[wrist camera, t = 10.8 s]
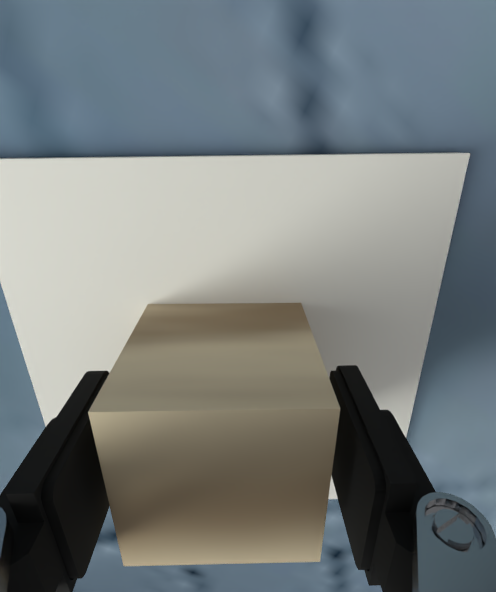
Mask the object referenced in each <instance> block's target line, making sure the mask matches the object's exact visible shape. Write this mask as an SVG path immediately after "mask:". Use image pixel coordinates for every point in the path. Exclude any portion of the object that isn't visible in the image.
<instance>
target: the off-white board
mask: <svg viewBox="0 0 496 592" xmlns="http://www.w3.org/2000/svg"><path fill="white" fill-rule="evenodd" d="M469 157H470V153H459V152H455V153H375V154H294V155H214V156H134V157H53V158H0V282H1V286H2V289H3V292H4V295H5V298H6V301H7V305H8V308H9V311H10V314H11V317H12V321H13V324H14V327H15V330H16V333H17V336H18V340H19V343H20V346H21V349H22V352H23V356H24V359H25V362H26V365H27V368H28V371H29V375H30V378H31V381H32V384H33V387H34V391H35V394H36V397H37V400H38V403H39V406H40V410H41V413H42V416H43V419H44V422H45V426H47V425H48V423H49V422H50V421H51V420H52V419H53V418H55V417H57V415H58V414H59V412H60V411H61V409H62V408H63V406H64V405H65V403H66V402H67V400H68V399H69V397H70V396H71V394H72V393H73V391H74V390H75V388H76V387H77V385H78V383H79V382H80V380H81V379H82V377H83V376H84V374H85V373H86V372H87V371H108V372H109V373H110V371H111V370H112V368H113V366H114V364H115V362H116V361H117V359H118V357H119V355H120V353H121V352H122V350H123V348H124V346H125V344H126V343H127V341H128V339H129V337H130V335H131V334H132V332H133V330H134V328H135V326H136V324H137V323H138V321H139V319H140V317H141V315H142V314H143V312H144V310H145V308H146V306H147V305H148V304H216V303H301V304H302V307H303V309H304V312H305V315H306V317H307V320H308V323H309V326H310V328H311V331H312V334H313V336H314V339H315V342H316V344H317V347H318V350H319V352H320V355H321V358H322V360H323V363H324V366H325V369H326V371H327V374H328V377H330V372H331V371H336V368H337V366H344V365H356V366H358V368H359V370H360V372H361V374H362V376H363V378H364V379H365V381H366V383H367V385H368V387H369V389H370V391H371V393H372V395H373V397H374V399H375V401H376V403H377V405H378V407H379V409H380V410H389V411H391V413H392V414H393V416H394V417H395V419H396V421H397V423H398V425H399V426H400V428H401V430H402V432H403V434H404V436H405V437H407V432H408V428H409V423H410V419H411V415H412V410H413V406H414V401H415V397H416V392H417V388H418V383H419V379H420V375H421V370H422V366H423V361H424V357H425V352H426V348H427V343H428V339H429V335H430V330H431V326H432V321H433V317H434V312H435V308H436V303H437V299H438V294H439V290H440V286H441V281H442V277H443V272H444V268H445V263H446V259H447V254H448V250H449V246H450V241H451V237H452V232H453V228H454V223H455V219H456V214H457V210H458V206H459V201H460V197H461V192H462V188H463V183H464V179H465V174H466V170H467V166H468V161H469ZM328 499H338V497H337V494H336V490H335V486H334V483H333V479H332V475H331V482H330V490H329V497H328Z"/></svg>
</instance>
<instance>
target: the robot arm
mask: <svg viewBox="0 0 496 592" xmlns="http://www.w3.org/2000/svg"><path fill="white" fill-rule="evenodd" d="M108 375H109V372H108V371H87V372H86V373H85V374H84V376H83V377H82V379H81V380H80V382H79V383H78V385H77V387H76V388H75V390H74V391H73V393H72V394H71V396H70V397H69V399H68V400H67V402H66V403H65V405H64V406H63V408H62V409H61V411H60V412H59V414H58V415H57V417H55V418H53V419H52V420H51V421H50V422H49V423H48V425H47V426H46V427H45V429H44V430H43V432H42V433H41V435H40V436H39V438H38V439H37V441H36V442H35V444H34V445H33V447H32V448H31V450H30V451H29V453H28V454H27V456H26V457H25V459H24V460H23V462H22V463H21V465H20V466H19V468H18V469H17V471H16V472H15V474H14V475H13V477H12V478H11V480H10V481H9V483H8V484H7V486H6V487H5V489H4V490H3V492H2V493H1V495H0V592H72V591H73V588H74V586H75V583H76V580H77V578H82V577H83V576H84V575H85V573H86V571H87V568H88V565H89V562H90V559H91V557H92V554H93V551H94V548H95V545H96V542H97V540H98V537H99V534H100V531H101V528H102V525H103V523H104V520H105V517H106V514H107V511H108V509H109V506H110V505H109V501H108V496H107V492H106V488H105V483H104V479H103V475H102V470H101V466H100V462H99V457H98V453H97V449H96V445H95V440H94V436H93V432H92V427H91V423H90V419H89V414H88V411H89V409H90V408H91V406H92V404H93V402H94V400H95V399H96V397H97V395H98V393H99V391H100V390H101V388H102V386H103V384H104V382H105V381H106V379H107V377H108ZM329 379H330V382H331V385H332V387H333V390H334V393H335V395H336V398H337V401H338V403H339V406H340V415H339V422H338V430H337V437H336V445H335V452H334V460H333V467H332V479H333V483H334V486H335V490H336V494H337V497H338V501H339V505H340V508H341V512H342V516H343V519H344V523H345V527H346V530H347V534H348V538H349V542H350V545H351V549H352V553H353V556H354V560H355V563H356V566H357V568H358V570H365V573H366V577H367V580H368V584H369V585H381V588H382V591H383V592H496V538H495V535H494V532H493V530H492V527H491V525H490V524H489V522H488V521H487V520H486V518H485V517H484V515H483V514H482V513H480V512H479V511H478V510H477V509H476V508H475V507H474V506H473V505H471V504H470V503H468V502H467V501H465V500H463V499H462V498H459V497H457V496H454V495H452V494H448V493H443V492H435V490H434V488H433V486H432V484H431V482H430V481H429V479H428V477H427V475H426V473H425V472H424V470H423V468H422V466H421V464H420V463H419V461H418V459H417V457H416V455H415V454H414V452H413V450H412V448H411V446H410V445H409V443H408V441H407V439H406V437H405V436H404V434H403V432H402V430H401V428H400V426H399V425H398V423H397V421H396V419H395V417H394V416H393V414H392V413H391V411H389V410H380V409H379V407H378V405H377V403H376V401H375V399H374V397H373V395H372V393H371V391H370V389H369V387H368V385H367V383H366V381H365V379H364V378H363V376H362V374H361V372H360V370H359V368H358V366H356V365H344V366H337V368H336V371H331V372H330V377H329Z"/></svg>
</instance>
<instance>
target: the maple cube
mask: <svg viewBox="0 0 496 592" xmlns="http://www.w3.org/2000/svg"><path fill="white" fill-rule="evenodd" d="M88 414H89V419H90V423H91V427H92V432H93V436H94V440H95V445H96V449H97V453H98V457H99V462H100V466H101V470H102V475H103V479H104V483H105V488H106V492H107V496H108V501H109V505H110V509H111V513H112V518H113V522H114V526H115V531H116V535H117V539H118V544H119V548H120V552H121V557H122V561H123V565H124V566H154V565H197V564H241V563H285V562H320V557H321V549H322V542H323V534H324V527H325V519H326V512H327V505H328V497H329V490H330V482H331V475H332V467H333V460H334V452H335V445H336V437H337V430H338V422H339V415H340V406H339V403H338V401H337V398H336V395H335V393H334V390H333V387H332V385H331V382H330V379H329V377H328V374H327V371H326V369H325V366H324V363H323V360H322V358H321V355H320V352H319V350H318V347H317V344H316V342H315V339H314V336H313V334H312V331H311V328H310V326H309V323H308V320H307V317H306V315H305V312H304V309H303V307H302V304H301V303H216V304H148V305H147V306H146V308H145V310H144V312H143V314H142V315H141V317H140V319H139V321H138V323H137V324H136V326H135V328H134V330H133V332H132V334H131V335H130V337H129V339H128V341H127V343H126V344H125V346H124V348H123V350H122V352H121V353H120V355H119V357H118V359H117V361H116V362H115V364H114V366H113V368H112V370H111V371H110V373H109V375H108V377H107V379H106V381H105V382H104V384H103V386H102V388H101V390H100V391H99V393H98V395H97V397H96V399H95V400H94V402H93V404H92V406H91V408H90V409H89V411H88Z"/></svg>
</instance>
